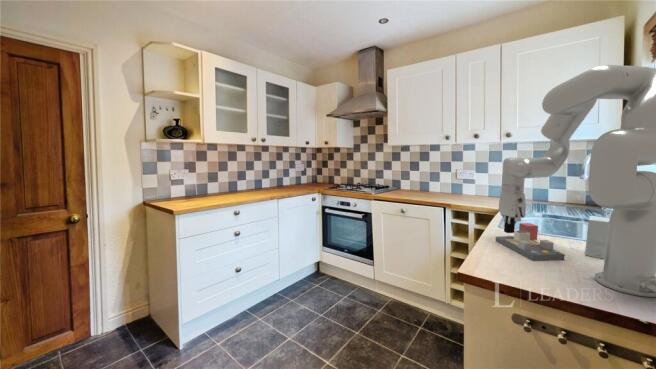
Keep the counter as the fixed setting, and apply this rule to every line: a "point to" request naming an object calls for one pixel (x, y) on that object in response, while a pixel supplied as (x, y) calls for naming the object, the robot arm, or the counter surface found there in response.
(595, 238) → the small box
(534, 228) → the red block
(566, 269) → the counter surface
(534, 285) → the counter surface
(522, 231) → the breaker switch
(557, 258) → the breaker panel
